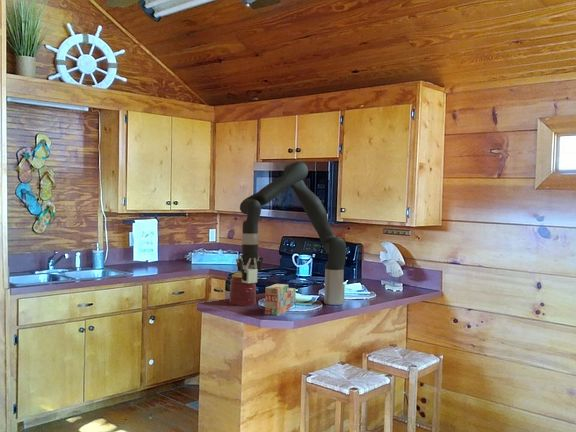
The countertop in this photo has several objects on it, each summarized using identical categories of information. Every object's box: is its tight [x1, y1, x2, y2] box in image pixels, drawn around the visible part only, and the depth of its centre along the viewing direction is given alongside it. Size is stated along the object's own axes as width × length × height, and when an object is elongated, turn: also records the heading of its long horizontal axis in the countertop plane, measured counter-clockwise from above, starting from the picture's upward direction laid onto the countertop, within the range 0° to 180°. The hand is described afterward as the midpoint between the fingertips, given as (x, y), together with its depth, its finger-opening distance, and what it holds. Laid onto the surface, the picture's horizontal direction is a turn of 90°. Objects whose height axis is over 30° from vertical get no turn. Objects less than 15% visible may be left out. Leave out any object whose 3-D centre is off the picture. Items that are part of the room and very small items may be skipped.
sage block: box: [242, 267, 258, 284], centre depth 253 cm, size 5×5×6 cm
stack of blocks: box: [264, 283, 297, 316], centre depth 255 cm, size 21×6×12 cm, turn 157°
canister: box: [228, 271, 257, 307], centre depth 267 cm, size 13×13×18 cm
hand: (249, 280), depth 253 cm, fingers closed on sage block, 5 cm apart
